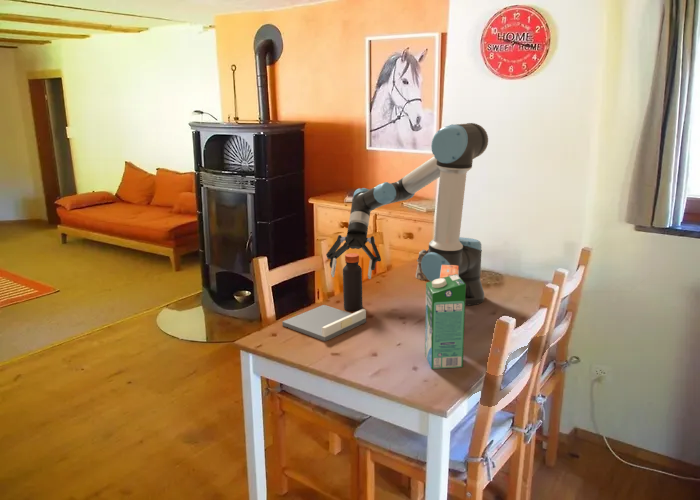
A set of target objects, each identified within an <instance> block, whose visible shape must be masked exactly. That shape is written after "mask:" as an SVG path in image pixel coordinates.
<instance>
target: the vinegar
mask: <svg viewBox="0 0 700 500" xmlns="http://www.w3.org/2000/svg"><path fill="white" fill-rule="evenodd" d="M344 262H345V264H346V265H344V267H343V268H342V285H343V286H342V289H343V309H344V310H345V311H347V312H357V311H360V310H362V309H363V273H362V272H363V268H362V267H361V265H360V264H359V263H360V255H359V254H358V253H355V252H352V253H351V252H350V253H346V254H345V255H344Z"/></svg>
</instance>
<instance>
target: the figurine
mask: <svg viewBox="0 0 700 500" xmlns="http://www.w3.org/2000/svg"><path fill="white" fill-rule="evenodd" d="M428 250H429V248H427V250H426V249H422V250H420V251H419V252H418V257H417V260H416V262H417V267H416V271H415V278H416V279H418V280H420V281H421V280H422V281H425V280H426V281H427V280H428V279H427V278H426V276H425V275H424V273H423V271H422V268H421V261H422V258H423V257H424V256H425V255H426V254H427V253H428ZM428 281H429V280H428Z"/></svg>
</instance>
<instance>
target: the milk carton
mask: <svg viewBox="0 0 700 500" xmlns="http://www.w3.org/2000/svg"><path fill="white" fill-rule="evenodd" d="M465 292H466V284H465V283H464V282H463V280H462V279H461V278H460V277H459V276H458V275H457V274H455V275H451V276H448V277H444V278H439V279H436V280H433V281H427V282H425V317H424V318H425V319H424V320H425V321H424V322H425V325H424V329H425V330H424V331H425V332H424V356H425V358H426V360H427V363H428V364H429V366H430V369H431V370H436V369H437V370H438V369H455V368H464V349H465V347H464V346H465V345H464V343H465V340H464V339H465V320H466V319H465V316H466V314H465V313H466V305H465Z"/></svg>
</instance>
